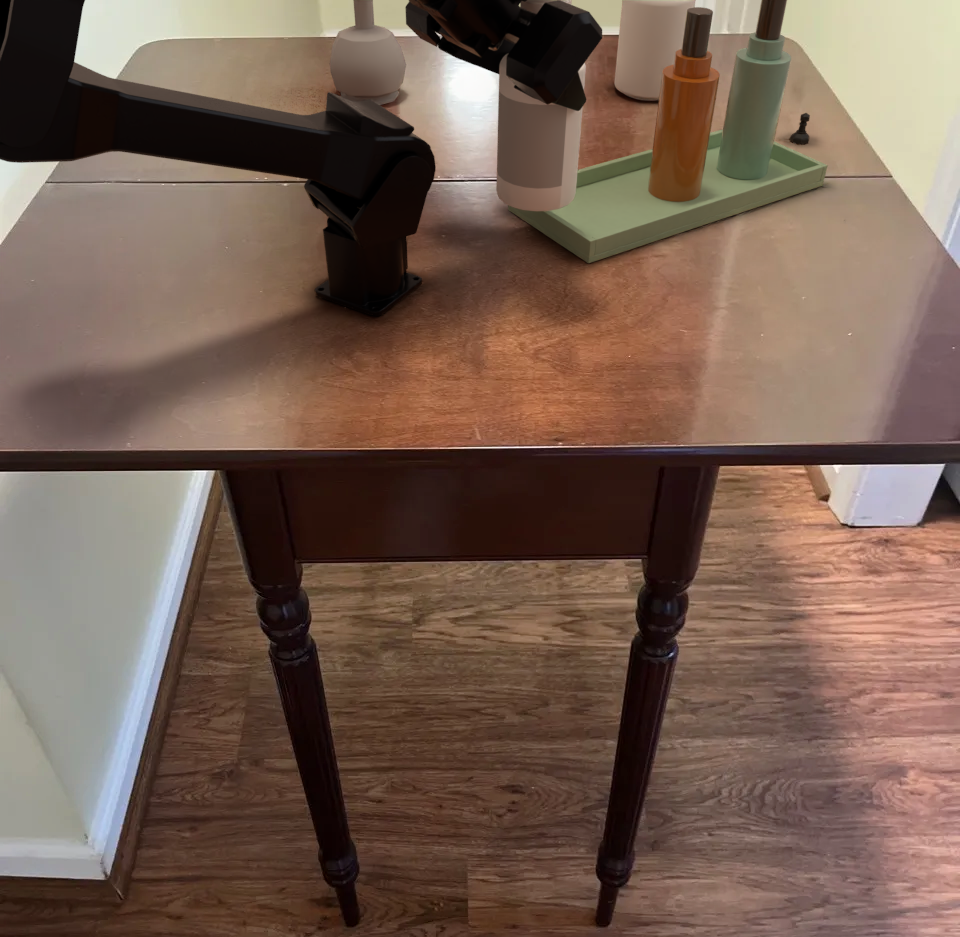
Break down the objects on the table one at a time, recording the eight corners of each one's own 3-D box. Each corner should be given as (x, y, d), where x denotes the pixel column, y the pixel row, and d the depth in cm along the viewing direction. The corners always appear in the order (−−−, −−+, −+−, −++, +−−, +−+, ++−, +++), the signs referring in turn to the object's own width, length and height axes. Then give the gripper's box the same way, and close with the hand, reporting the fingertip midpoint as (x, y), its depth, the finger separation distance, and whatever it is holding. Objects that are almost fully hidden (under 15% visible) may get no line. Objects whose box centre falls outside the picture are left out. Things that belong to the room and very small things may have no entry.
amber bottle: (688, 206, 89) (717, 22, 79) (639, 193, 91) (660, 13, 81) (708, 187, 92) (738, 8, 82) (660, 175, 94) (684, -1, 84)
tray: (588, 263, 82) (590, 241, 81) (507, 210, 90) (508, 188, 88) (822, 185, 94) (828, 165, 93) (734, 144, 102) (737, 124, 101)
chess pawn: (813, 140, 103) (819, 112, 101) (803, 146, 102) (809, 117, 100) (796, 135, 104) (803, 107, 102) (786, 140, 103) (792, 112, 101)
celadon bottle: (757, 184, 93) (793, 6, 82) (708, 172, 95) (738, -3, 84) (774, 166, 96) (811, -8, 86) (727, 155, 98) (757, -16, 88)
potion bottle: (404, 109, 109) (396, -69, 97) (326, 108, 109) (308, -70, 97) (410, 83, 116) (403, -87, 104) (336, 81, 116) (321, -88, 104)
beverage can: (629, 106, 110) (641, -7, 102) (603, 82, 116) (613, -26, 108) (693, 100, 112) (710, -12, 104) (665, 77, 118) (679, -31, 110)
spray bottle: (486, 183, 84) (490, -43, 73) (560, 175, 86) (575, -48, 74) (509, 217, 79) (517, -20, 68) (586, 208, 81) (607, -26, 69)
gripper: (592, -125, 59) (697, 37, 70) (435, -165, 70) (547, -20, 82) (483, 31, 60) (603, 163, 72) (347, -33, 72) (470, 90, 84)
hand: (554, 91), depth 78 cm, fingers closed on spray bottle, 7 cm apart
